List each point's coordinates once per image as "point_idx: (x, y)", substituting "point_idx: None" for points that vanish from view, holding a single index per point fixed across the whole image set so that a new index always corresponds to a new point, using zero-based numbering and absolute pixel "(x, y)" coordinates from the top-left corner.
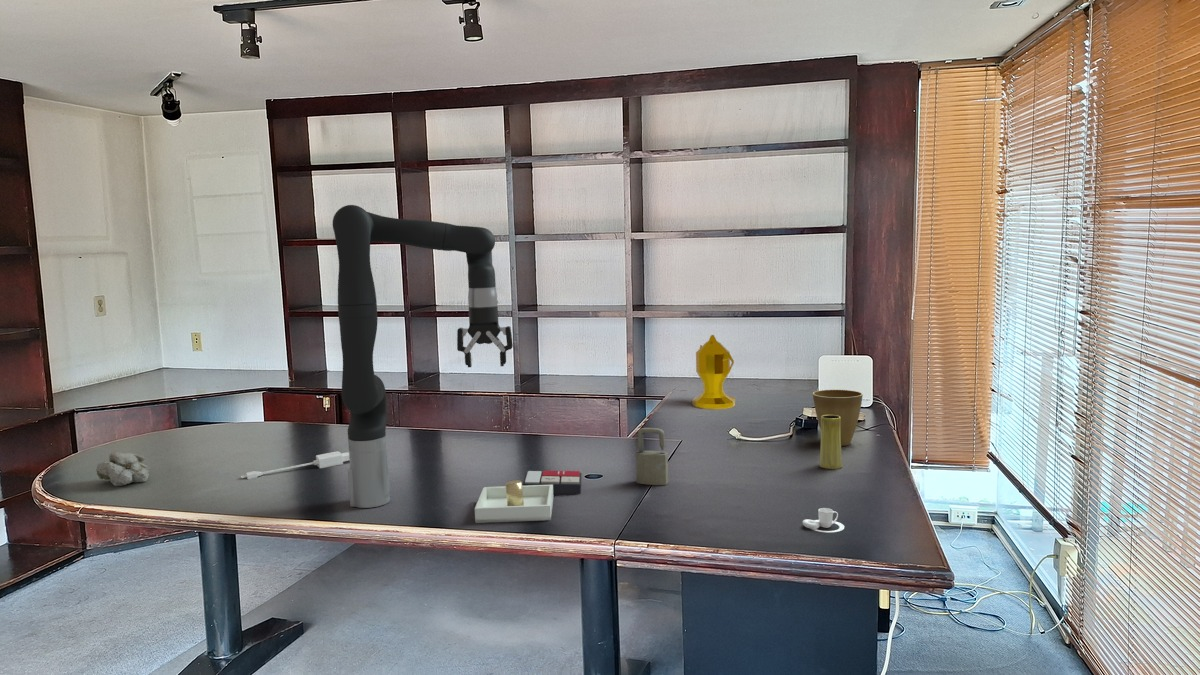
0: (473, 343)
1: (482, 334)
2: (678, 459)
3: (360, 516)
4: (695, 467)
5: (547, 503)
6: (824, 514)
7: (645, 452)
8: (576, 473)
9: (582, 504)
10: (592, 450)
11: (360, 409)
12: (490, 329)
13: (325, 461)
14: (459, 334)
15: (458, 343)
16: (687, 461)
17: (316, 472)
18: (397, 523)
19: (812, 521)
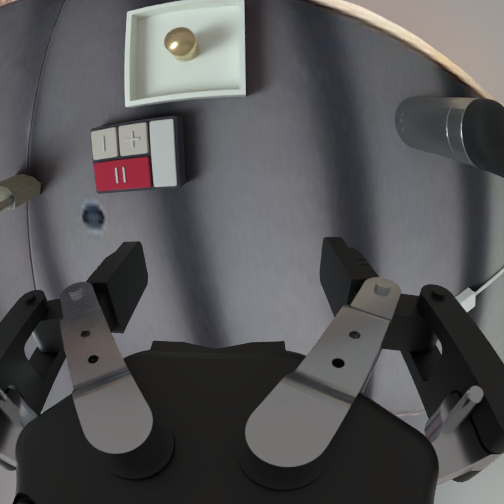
0: (342, 322)
1: (229, 435)
2: (26, 280)
3: (415, 68)
4: (6, 246)
5: (130, 19)
6: None
7: (6, 198)
8: (99, 176)
9: (94, 82)
10: (126, 335)
11: None
12: (98, 478)
13: (467, 294)
14: (499, 383)
15: (465, 322)
16: (17, 270)
17: (472, 272)
18: (360, 24)
19: None
